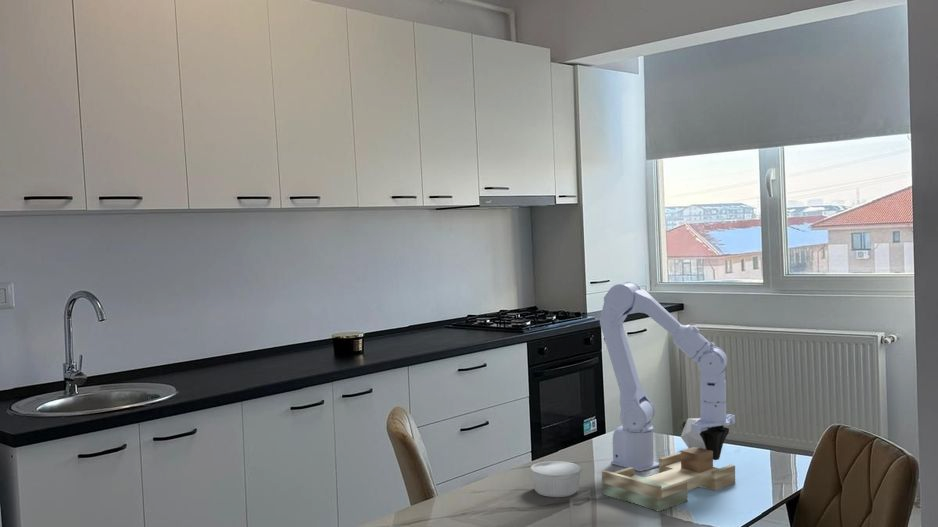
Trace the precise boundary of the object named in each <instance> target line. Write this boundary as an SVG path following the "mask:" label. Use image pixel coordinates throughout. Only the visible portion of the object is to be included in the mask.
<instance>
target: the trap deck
mask: <svg viewBox="0 0 938 527" xmlns="http://www.w3.org/2000/svg"><path fill="white" fill-rule="evenodd" d="M658 462H659V466H658V473H656V474H653V475H649V476H646V477H644V476H640V475H637V474H635V470H634V468H632V467H629V468H626V467H625V468H623V469H620V470H617V471H616V470H615V471H614V472H612V471H609V470H606V469H605V470H602V471H601V486H602V488H601V492H602V495H604V496H607V497H610V498H613V497H614V499H616V498H617V499H616V500H620V499H621V500H620V501H623V500H625V501H624V502H626V501H628V502H627V503H629V502H631V503H630V504H633V503H635V504H634V505H636V504H639V505H642V506H645V507H644V508H646V507H648V508H647V509H649V508H651V509H650V510H652V509H655V510H658V511H657V512H661V511H660V510H662V511H664V510H667V509H669V507H670V508H672V507H675V506H678V505H681V504H683V503H685V502H688V491H691V490H695V489H696V488H700V487H701V488H704V489H708V490H712V491H715V492H716V491H719V490H721V489H724V488H727V487H729V486H731V485H735V484H736V465H733V464H729V465H726V466H723V467H720V468H719V467H715V466H713V469H710V470H707V471H704V472H701V473H698V472H694V471H690V470H686V469H682V468H681V452H676V453H674V454H673V453H672V454H670V455H665V456H663V457H659V459H658ZM639 505H638V506H639ZM642 506H641V507H642ZM666 508H667V509H666ZM663 509H664V510H663ZM655 510H654V511H655Z"/></svg>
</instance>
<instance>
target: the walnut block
mask: <svg viewBox="0 0 938 527" xmlns="http://www.w3.org/2000/svg"><path fill="white" fill-rule="evenodd" d="M680 453H681V468H682V469H686V470H690V471H694V472H698V473H701V472H704V471H707V470H710V469H713V467H714V460H713V451H711V450H707V449H702V448H698V447H692V448H688V447H687V448H686V449H682V450H680Z"/></svg>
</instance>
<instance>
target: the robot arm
mask: <svg viewBox="0 0 938 527" xmlns="http://www.w3.org/2000/svg"><path fill="white" fill-rule="evenodd" d="M630 312H633V313H641V314H646V315H648V317H649V318H651V319H652V320H653V321H654V322H656V323H657V324H658V325H659V326H661V327H662V328H663V329H664V330H666V331H667V333H670V334H671V335H672V342H673V344H674V345H675V346H676V347H677V348H679V349H680V350H681V351H682V352H683V353H684V354H685V355H686V356H687V357H688V358H689V359H691V361H693V362H695V363H696V364H697V367H698V370H699V371H700V381H699V384H700V385H699V388H700V392H699V393H700V397H699V398H700V406H699V407H700V417H699V418H700V419H699V420H697V421H696V422H695V423H693V424H691V432H692V433H697V434H700V436H701V437H702V439H703V442H704V444H705V447H706V449H707V450H711V451H713V461H718V460H720V457H721V454H722V449H723V446H724V443H725V440H726V439H727V436H728V434H729V433H730V428H728V427H724V426H730V425H734V424H735V423H736V415H735V414H730V413H727V381H726V376H727V375H726V370H725V368H726V366H727V364H728V357H727V354H726V352H724V350H723V348H722V347H718V346H716V344H715V343H714V342H713V341H711V342H710V341H709V340H708V339H706V337H704V335H702V334H701V333H700V332H699V331H700V328H699V327H697V326H694V327H693V326H692V325H691V324H682V323H680V321H679V320H677V319H676V317H674V316H673V315H672V314H671V313H670V312H669V311H668V310H667V309H665V308H664V306H663V305H661V304H660V302H658V301H657V300H656V299H655V298H654V296H652V295H651V294H650V293H649V292H648V291H646V290H645V289H643V288H641V287H640V286H639V285H638V284H637V283H635V282H633V281H626V282H623V283H619V284H618V283H617V284H615V285H613V286H611V287H610V289H608V291H607V293H606V294H605V296H604V297H603V305H602V309H601V313H600V317H599V325H600V328H601V332H602V335H603V337H604V342H605V345H606V348H607V352H608V355H609V359H610V362H611V366H612V369H613V372H614V376H615V378H616V382H617V386H618V388H619V392H620V393H619V405H620V415H619V417H620V423H621V424H622V425H619V426H618V427H616V428H615V430H614V432H613V434H612V461H610V464H612V465H616V466H618V467H619V466H620V467H623V468H625V469H626V468H629V467H632V468H634V471H639V472H643V471H647V470H650V469H652V468H653V469H654V468H658V467H659V461H654V459H655V458H654V456H655V455H654V426H653V424H652V422H651V421H652V420H653V419H654V417H655V413H656V409H655V406H654V404H653V402H652V401H650V399H649V397H648V396H647V392H646V390H645V389H644V388H643V386H642V385H641V381H640V379H639V375H638V372H637V368H636V366H635V362H634V358H633V356H632V352H631V348H630V345H629V341H628V338H627V335H626V332H625V329H624V325H623V323H624V321H625V320H626V318H627V317H628V315H629V314H630Z"/></svg>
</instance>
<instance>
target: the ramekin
mask: <svg viewBox="0 0 938 527" xmlns="http://www.w3.org/2000/svg"><path fill="white" fill-rule="evenodd" d="M529 468H530V470H529V471H530V474H531V478H532V479H531V480H532V486H533V489H534V490H535V492H536V493H537V494H538V495H541V496H544V497H547V498H548V497H550V498H564V497H570V496H572V495H575V494H576V493H577V491H578V490H579V485H580V479H581V473H582V467H581V466H580V465H578V464H577V463H573V462H569V461H561V460H560V461H557V460H555V461H554V460H553V461H552V460H551V461H542V462H538V463H534V464H531V466H530V467H529Z"/></svg>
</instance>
